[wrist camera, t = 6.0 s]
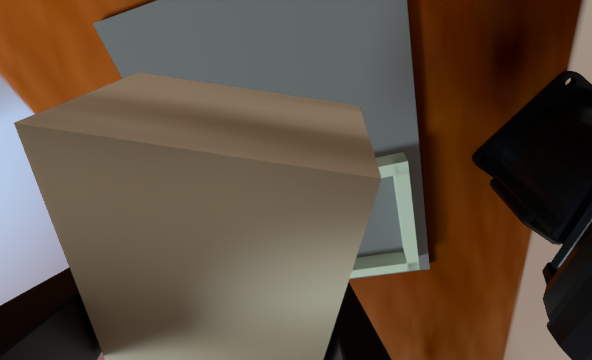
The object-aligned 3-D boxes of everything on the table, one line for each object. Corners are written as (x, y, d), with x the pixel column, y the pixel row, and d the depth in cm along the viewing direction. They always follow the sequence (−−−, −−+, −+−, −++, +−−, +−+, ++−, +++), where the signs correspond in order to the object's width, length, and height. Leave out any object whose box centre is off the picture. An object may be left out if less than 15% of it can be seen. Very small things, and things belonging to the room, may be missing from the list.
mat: (98, 23, 17) (92, 23, 16) (397, -86, 13) (399, -88, 13) (241, 288, 27) (239, 292, 27) (427, 264, 24) (429, 269, 24)
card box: (138, 72, 7) (14, 123, 4) (359, 105, 7) (381, 178, 4) (173, 317, 13) (127, 416, 10) (303, 338, 13) (296, 443, 10)
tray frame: (198, 193, 22) (192, 203, 21) (403, 152, 19) (408, 161, 18) (244, 280, 26) (240, 291, 25) (415, 257, 23) (419, 269, 22)
